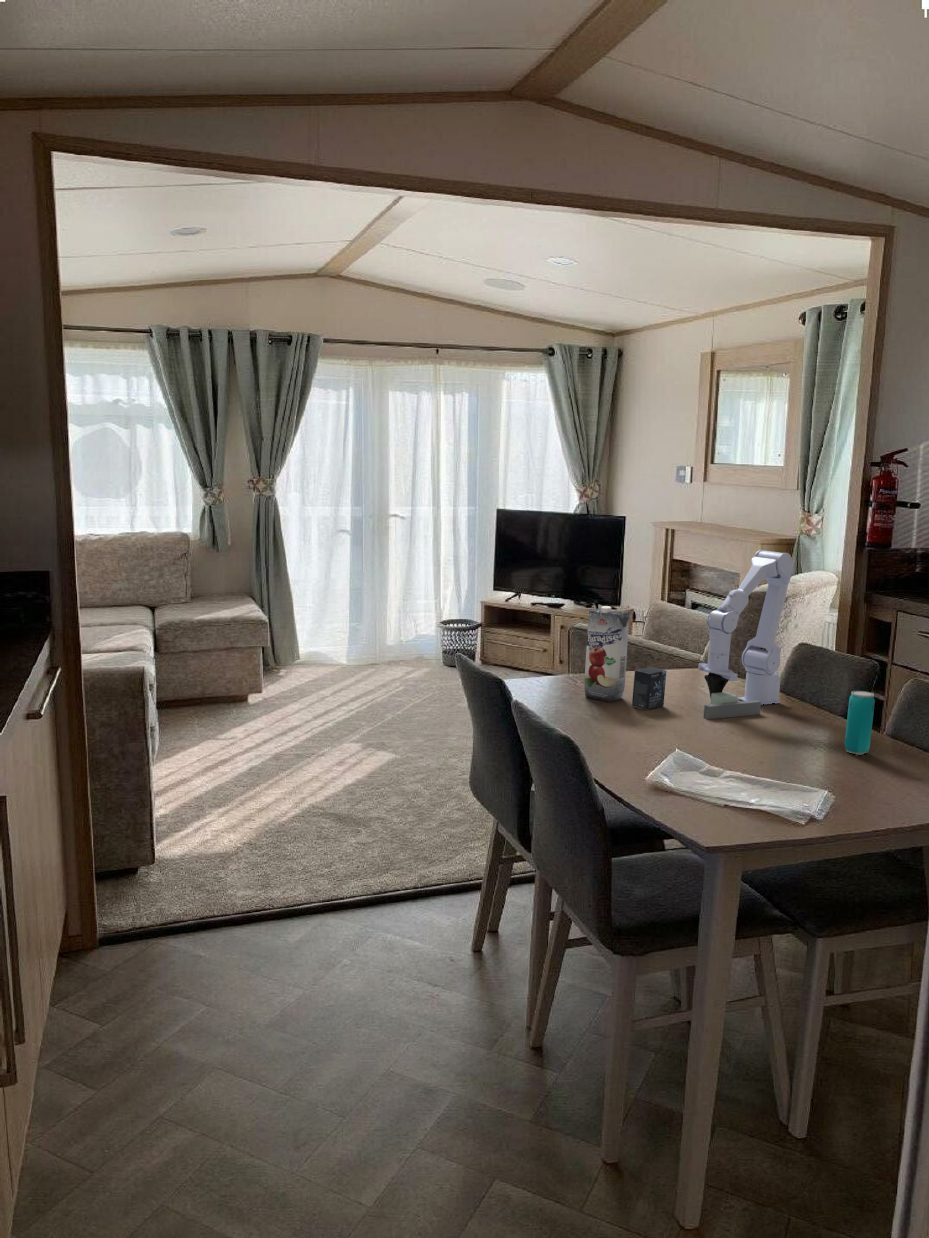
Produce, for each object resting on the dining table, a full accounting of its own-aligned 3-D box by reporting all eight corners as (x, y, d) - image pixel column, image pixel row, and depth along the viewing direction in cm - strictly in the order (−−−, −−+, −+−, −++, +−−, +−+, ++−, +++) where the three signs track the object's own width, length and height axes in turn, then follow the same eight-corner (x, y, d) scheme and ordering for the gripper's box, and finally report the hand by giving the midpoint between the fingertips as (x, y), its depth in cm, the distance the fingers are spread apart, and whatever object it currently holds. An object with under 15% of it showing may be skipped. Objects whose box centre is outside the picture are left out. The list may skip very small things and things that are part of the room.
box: (647, 710, 274) (650, 673, 272) (631, 706, 278) (633, 669, 276) (664, 706, 279) (667, 669, 278) (647, 702, 283) (650, 666, 282)
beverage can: (868, 751, 243) (874, 692, 241) (869, 757, 238) (876, 697, 235) (843, 748, 245) (849, 689, 243) (844, 754, 240) (850, 694, 237)
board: (755, 712, 277) (756, 700, 276) (759, 714, 275) (761, 701, 274) (703, 717, 269) (704, 704, 269) (708, 719, 267) (709, 706, 267)
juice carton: (594, 691, 293) (600, 602, 288) (626, 698, 287) (633, 606, 282) (580, 697, 286) (585, 605, 281) (612, 703, 280) (618, 609, 275)
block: (724, 709, 279) (725, 692, 278) (736, 713, 274) (737, 696, 273) (710, 710, 276) (711, 693, 276) (721, 715, 272) (723, 697, 271)
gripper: (691, 648, 281) (687, 695, 283) (724, 659, 268) (720, 707, 270) (711, 647, 284) (707, 693, 286) (745, 657, 271) (740, 706, 273)
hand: (714, 700), depth 278 cm, fingers closed
